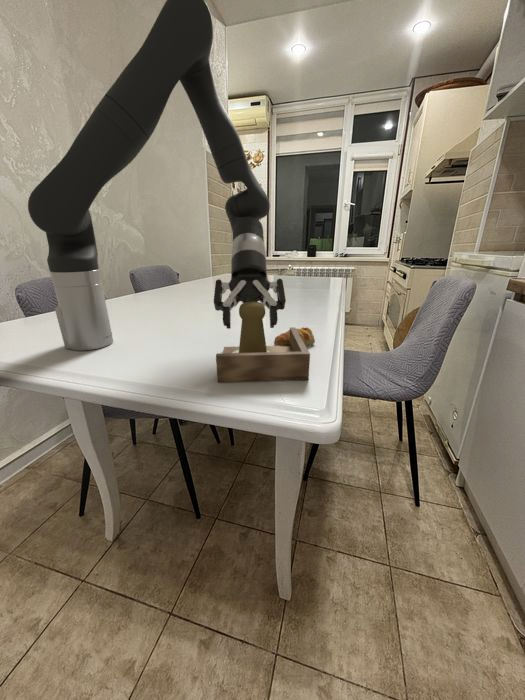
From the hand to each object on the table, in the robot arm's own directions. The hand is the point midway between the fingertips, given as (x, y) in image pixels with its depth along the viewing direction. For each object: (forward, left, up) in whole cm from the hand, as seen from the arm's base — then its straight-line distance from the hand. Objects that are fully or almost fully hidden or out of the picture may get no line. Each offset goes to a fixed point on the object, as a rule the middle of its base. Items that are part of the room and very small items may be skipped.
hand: (250, 326), depth 56 cm
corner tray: (+2, -1, -8) cm, 8 cm away
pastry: (+11, +11, -8) cm, 17 cm away
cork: (0, +2, -7) cm, 7 cm away
